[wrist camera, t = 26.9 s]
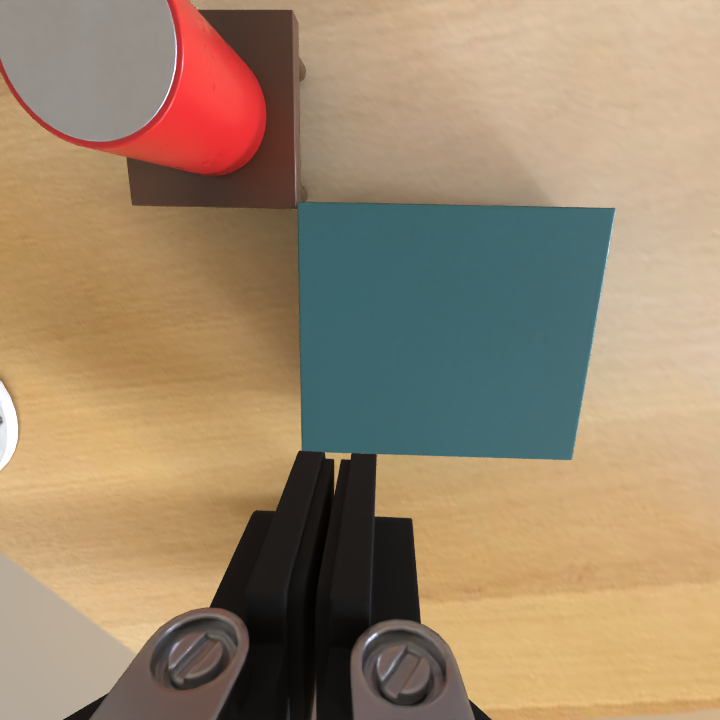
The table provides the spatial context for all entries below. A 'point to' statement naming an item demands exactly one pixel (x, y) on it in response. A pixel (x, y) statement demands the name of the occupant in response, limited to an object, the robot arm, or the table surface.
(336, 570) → the robot arm
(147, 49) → the soda can
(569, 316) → the lid
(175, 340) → the table surface
